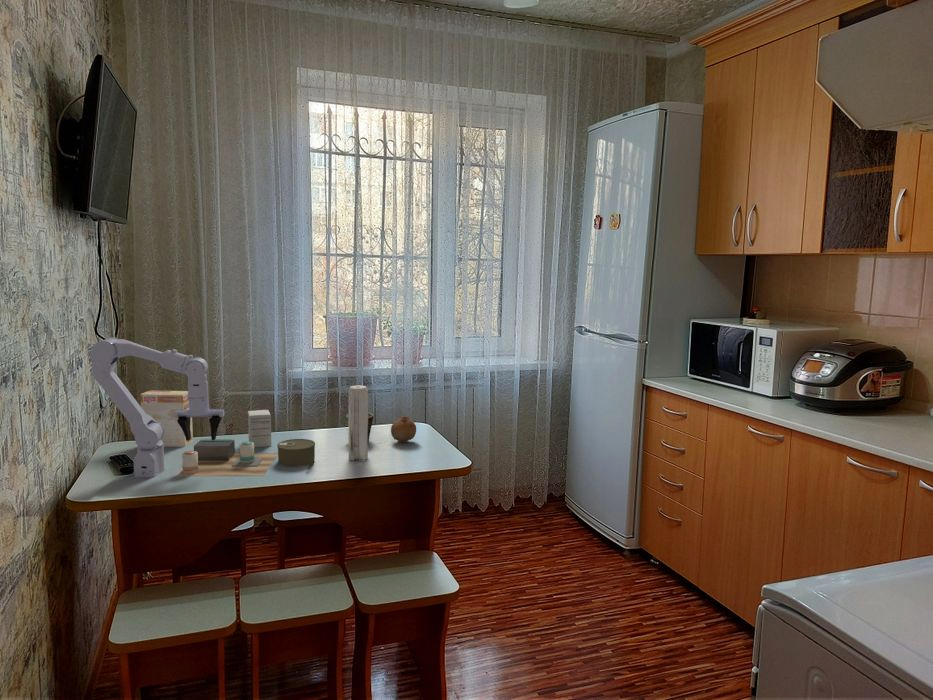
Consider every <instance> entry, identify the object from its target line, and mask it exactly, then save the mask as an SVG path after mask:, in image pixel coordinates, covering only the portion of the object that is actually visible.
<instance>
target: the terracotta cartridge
mask: <svg viewBox="0 0 933 700" xmlns="http://www.w3.org/2000/svg"><path fill="white" fill-rule="evenodd" d="M181 457H182V458H181V460H182V462H181V463H182V470H183V473H184V474H194V473H197V472H198V452H197V451H194V450H187V451H184V452H182V453H181Z"/></svg>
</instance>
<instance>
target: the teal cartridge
mask: <svg viewBox="0 0 933 700" xmlns="http://www.w3.org/2000/svg"><path fill="white" fill-rule="evenodd" d="M239 453H240V463H243V464H248V463H253V462H254V453H255V447H254V443H253V442H249V441H242V442H240V443H239Z"/></svg>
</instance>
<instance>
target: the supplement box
mask: <svg viewBox="0 0 933 700" xmlns="http://www.w3.org/2000/svg"><path fill="white" fill-rule="evenodd" d="M247 426H248V427H247V428H248V430H247V431H248V432H247V433H248V435H247V436H248V442H253V443H254V448H261V447H262V448H263V447H271V446H272V415H271V413H270V411H269V409H257V410H248V411H247Z"/></svg>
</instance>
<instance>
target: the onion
mask: <svg viewBox="0 0 933 700" xmlns="http://www.w3.org/2000/svg"><path fill="white" fill-rule="evenodd" d="M390 433H391V436H392V438H393V439H394V440H395V441H397V442H399V443H405V442H408V441H411V440H412V439H414V438H415V436H416V435H417V434H416V433H417V426H416V424H415V422H414V421H413V420H412V419H410V418H408V417H406V416H405V415H403V416H401V417H400V418H399V419H397V420H395V421H394V422H392V424H391V427H390Z"/></svg>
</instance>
